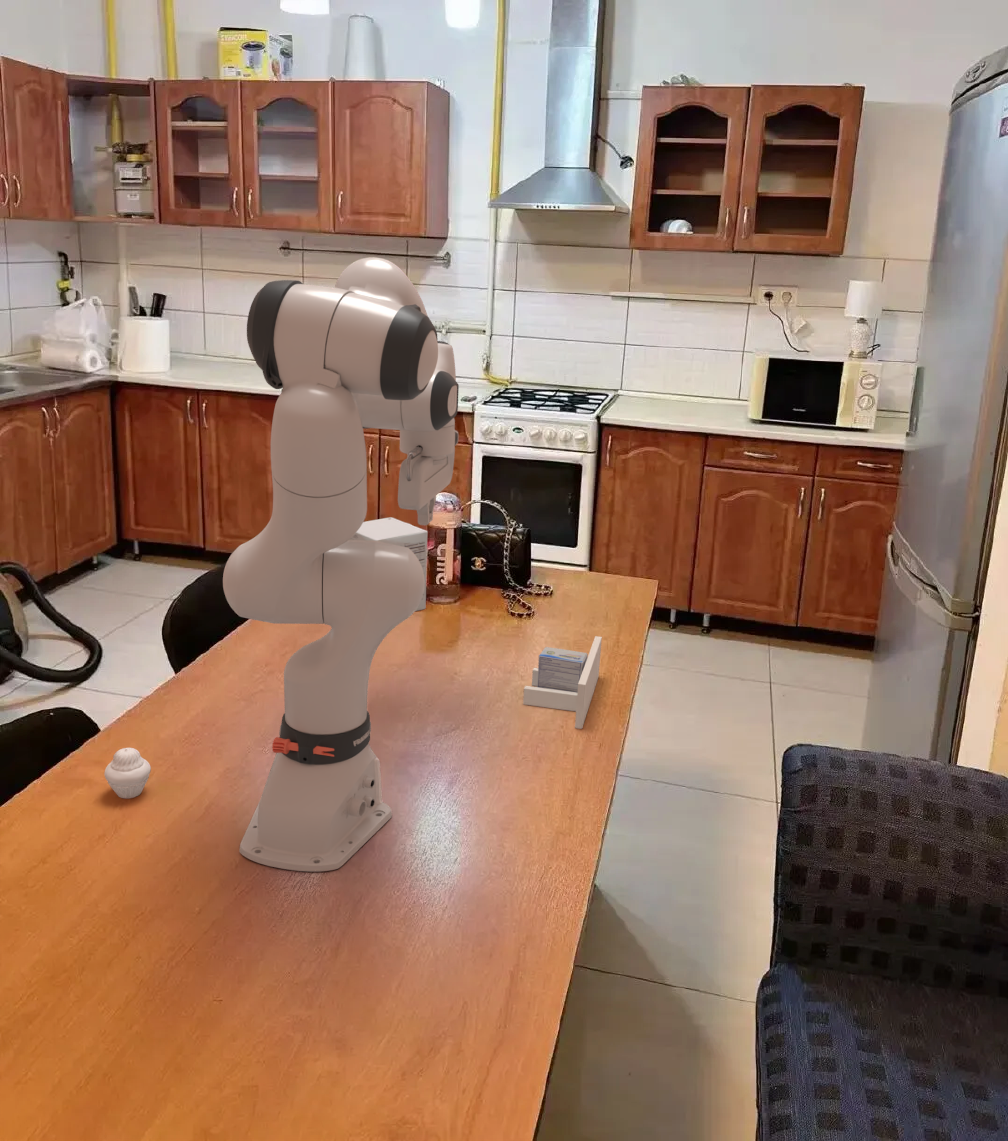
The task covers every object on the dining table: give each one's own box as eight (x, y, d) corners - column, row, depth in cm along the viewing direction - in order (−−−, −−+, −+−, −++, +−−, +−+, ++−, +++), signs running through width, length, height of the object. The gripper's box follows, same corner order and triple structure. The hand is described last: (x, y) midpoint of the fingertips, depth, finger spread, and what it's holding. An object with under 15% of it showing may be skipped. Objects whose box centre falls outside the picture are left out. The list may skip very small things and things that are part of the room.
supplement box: (340, 603, 225) (340, 524, 220) (391, 591, 234) (392, 516, 228) (376, 621, 216) (377, 540, 210) (427, 609, 224) (429, 530, 219)
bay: (582, 728, 174) (585, 684, 171) (515, 719, 176) (518, 676, 173) (598, 676, 194) (601, 636, 192) (539, 669, 196) (541, 629, 194)
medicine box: (585, 697, 186) (588, 652, 183) (579, 707, 181) (583, 661, 179) (542, 690, 188) (544, 645, 185) (535, 700, 184) (538, 654, 181)
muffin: (160, 793, 149) (157, 749, 146) (120, 809, 144) (116, 763, 142) (138, 777, 152) (134, 734, 150) (98, 792, 148) (94, 747, 146)
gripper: (428, 455, 159) (426, 542, 164) (461, 431, 179) (458, 510, 183) (388, 451, 161) (387, 537, 165) (425, 428, 180) (423, 506, 184)
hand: (425, 523), depth 174 cm, fingers closed
